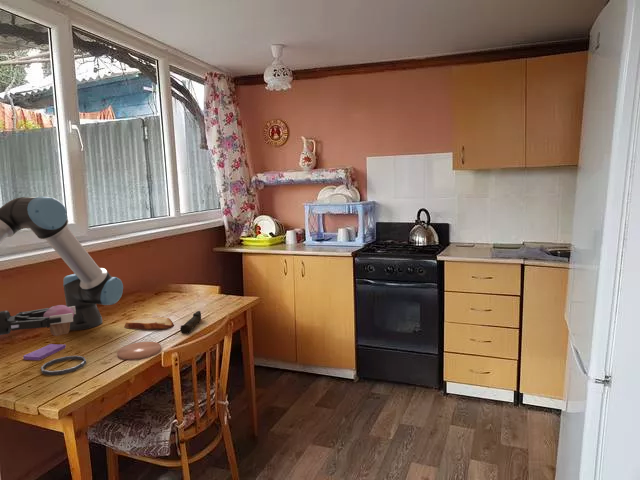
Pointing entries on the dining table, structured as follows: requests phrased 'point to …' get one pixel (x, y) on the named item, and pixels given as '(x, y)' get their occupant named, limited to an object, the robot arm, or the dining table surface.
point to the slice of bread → (150, 324)
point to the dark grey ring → (64, 369)
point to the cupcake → (61, 327)
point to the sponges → (44, 352)
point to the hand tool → (191, 323)
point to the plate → (138, 350)
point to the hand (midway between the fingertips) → (74, 313)
